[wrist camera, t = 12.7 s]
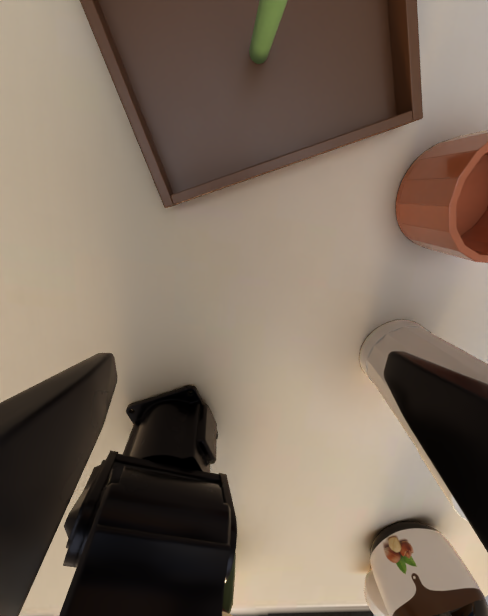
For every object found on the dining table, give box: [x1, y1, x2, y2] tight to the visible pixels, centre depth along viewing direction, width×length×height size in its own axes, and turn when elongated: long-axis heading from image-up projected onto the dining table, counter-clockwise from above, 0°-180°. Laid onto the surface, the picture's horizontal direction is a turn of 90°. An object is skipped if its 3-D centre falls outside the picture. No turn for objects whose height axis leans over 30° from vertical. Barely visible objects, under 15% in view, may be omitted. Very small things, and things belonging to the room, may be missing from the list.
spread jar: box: [364, 521, 488, 616], centre depth 32 cm, size 12×11×12 cm
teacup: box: [396, 130, 488, 263], centre depth 18 cm, size 7×7×5 cm
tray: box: [80, 0, 423, 208], centre depth 15 cm, size 16×12×2 cm
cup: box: [359, 320, 488, 521], centre depth 20 cm, size 8×8×12 cm
